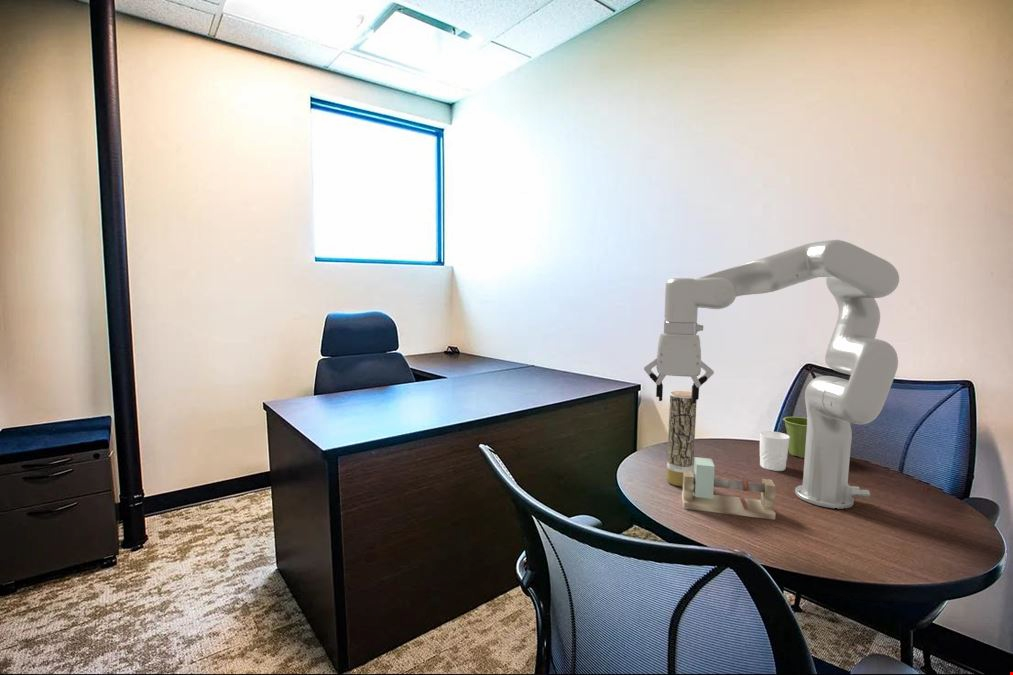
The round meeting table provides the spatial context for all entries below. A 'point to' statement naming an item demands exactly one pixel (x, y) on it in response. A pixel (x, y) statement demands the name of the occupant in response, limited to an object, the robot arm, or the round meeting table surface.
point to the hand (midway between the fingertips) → (676, 400)
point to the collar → (703, 477)
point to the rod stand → (732, 498)
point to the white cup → (773, 450)
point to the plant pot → (796, 435)
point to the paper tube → (680, 436)
